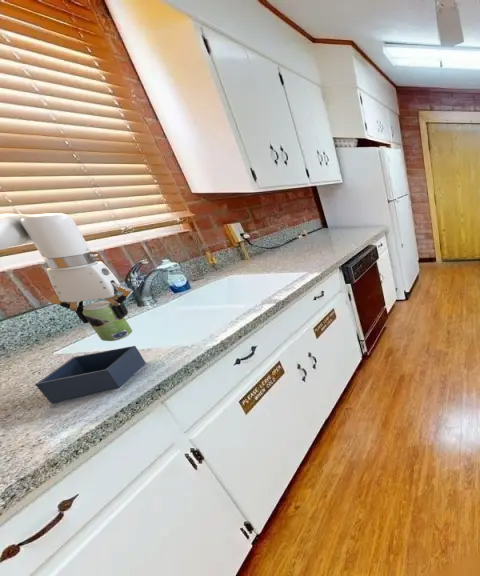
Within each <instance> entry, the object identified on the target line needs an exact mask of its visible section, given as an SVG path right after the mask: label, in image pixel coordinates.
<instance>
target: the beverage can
mask: <svg viewBox="0 0 480 576" xmlns="http://www.w3.org/2000/svg"><path fill="white" fill-rule="evenodd" d="M113 306H114V305H112V304H111V303H110V302H108V301H107V300H99V301H94V302H90V303H88V304H86V305H84V307H83V309H84V310H83V315H84V316H85V318H86V319H87V320H88V323H89V325H90V326H91V328H92V329H93V330H94V332H95V333H96V335H97V336H98V337H99V339H100V340H101V341H103V342H115V341H119V340H122V339H126V338H128V336H130V335H131V334H132V333H133V329H132V327H131V326H130V324H129V323H128V321H127V320H126V318H125V317H123V318H120V319H119V318H117V316H116V314H115V313H114V311H113V309H112V307H113Z"/></svg>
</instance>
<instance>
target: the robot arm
mask: <svg viewBox="0 0 480 576" xmlns="http://www.w3.org/2000/svg"><path fill="white" fill-rule="evenodd" d="M27 243H33V244H34V246H35V248H36V249H37V250H38V252H39V254H40V256H41V257H42V259H43V260H44V261H45V263H46V265H47V267H48V268H47V269H46V272H47V276H48V278H49V282H50V285H51V286H52V288H53V290H54V294H53V295H52V296H50V298H49V299H48V302H49V303H52V304H54V305H57V306H60V307H62V308H65V309H69V310H70V312H74V313H75V314H76V315H77V317H78V318H79V320H81V321H82V323H83V324H88V323H89V322H88V320H87V319H86V318H85V316H84V315H83V310H84V309H83V307H84V306H85V302H86V301H87V302H88V301H95V300H96V301H97V300H105V301H108V302H110V303H111V304H112V305H114V306H113V307H112V309H113V311H114V313H115V314H116V316H117V318H119V319H120V318H123V317H124V318H125V317H126V316H128V314H129V311H128V308H127V307H126V305H125V302H126V300H127V299H128V298H129V297H130V296H131V294H133V292H134V290H133V289H132V288H129V287H126V286H125V285H122V284H121V283H120V281H119V280H118V279H117V277H116V276H115V274H114V273H113V272H112V271H111V270H110V268H109V267H108V266H107V265H106V264H105V263H104V262H103V261H98V260H101V259H102V256H101V255H100V254H95V253H94V252H93V251H92V250H91V248H90V247H89V245H88V243H87V241H86V239H85V238H84V236H83V234H82V232H81V230H80V229H79V227H78V225H77V223H76V222H75V220H74V219H73V218H72V217H71V216H70V215H68V214H66V213H55V212H53V213H37V214H26V213H25V214H20V213H0V251H1V250H4V249H8V248H12V247H16V246H20V245H23V244H24V245H25V244H27ZM119 293H121V294H120V295H119Z"/></svg>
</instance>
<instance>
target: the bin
mask: <svg viewBox="0 0 480 576" xmlns="http://www.w3.org/2000/svg"><path fill="white" fill-rule="evenodd" d="M146 364H147V362H146V360H145V359H144V358H143V356H142V354H141V353H140V351H139V350H138V348H137V346H136V345H132V346H126V347H121V348H115V349H110V350H105V351H104V350H103V351H98V352H93V353H88V354H82V355H77V356H73V357H71V358H69V359H68V360H67V361H65V362H64V363H63V364H61V365H60V366H59V367H57V368H56V369H55V370H53V371H52V372H50V373H48V375H46V376H44V377H43V378H42V379H40V380H39V381H38V382H36V383H35V384H34V385H35V386H36V387H37V389H38V390H39V391H40V392H41V393H42V395H43V396H44V397H45V398H46V399H47V401H48V402H49V403H50V404H51V405H55V404H59V403H63V402H67V401H71V400H75V399H80V398H83V397H87V396H92V395H96V394H100V393H104V392H109V391H112V390H116V389H120V388H122V387H123V386H124V385H125V384H126V383H127V382H128V381H129V380H130V379H131V378H132V377H133V376H135V374H137V372H139V370H141V369H142V368H144V366H145V365H146Z"/></svg>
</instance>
